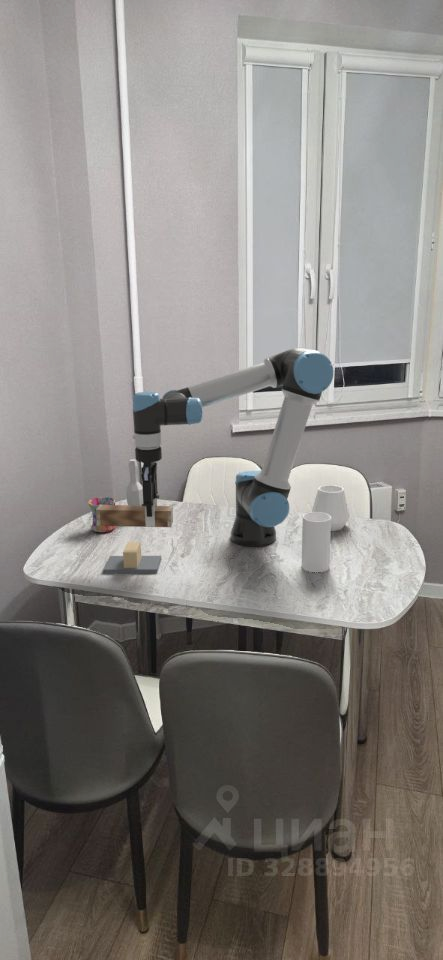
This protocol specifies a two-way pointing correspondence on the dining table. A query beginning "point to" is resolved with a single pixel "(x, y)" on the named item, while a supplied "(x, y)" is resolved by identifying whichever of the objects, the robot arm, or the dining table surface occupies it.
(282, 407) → the robot arm
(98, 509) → the beam
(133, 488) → the low poly bottle
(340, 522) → the white tapered vase
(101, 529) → the mug
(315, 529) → the cup
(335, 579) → the dining table surface
